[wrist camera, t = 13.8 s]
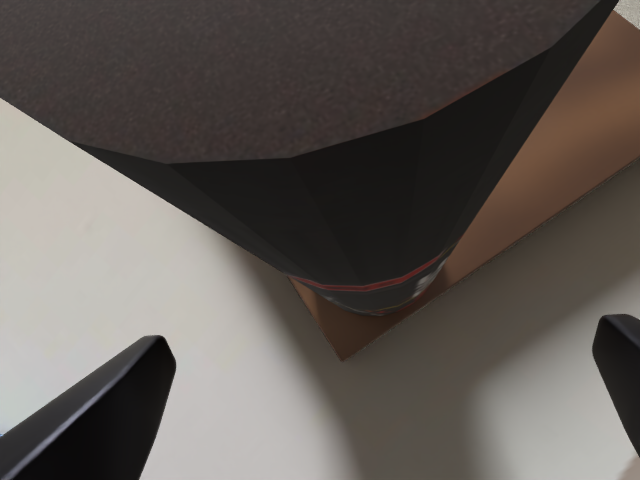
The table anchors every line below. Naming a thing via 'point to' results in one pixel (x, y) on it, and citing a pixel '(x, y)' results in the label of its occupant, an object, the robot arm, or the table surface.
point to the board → (530, 177)
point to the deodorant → (304, 117)
